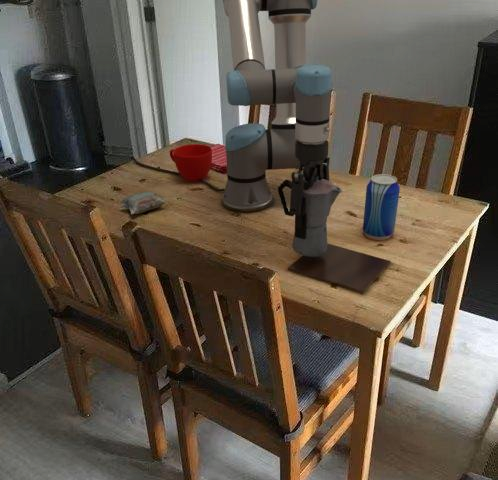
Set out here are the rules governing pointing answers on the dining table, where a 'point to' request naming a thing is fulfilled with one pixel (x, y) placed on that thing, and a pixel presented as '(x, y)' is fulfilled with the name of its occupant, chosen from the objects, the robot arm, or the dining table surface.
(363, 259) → the walnut trivet
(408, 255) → the dining table surface
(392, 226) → the beer can
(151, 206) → the packaged food
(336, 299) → the dining table surface
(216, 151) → the dish towel
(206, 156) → the ceramic cup
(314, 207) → the moka pot
